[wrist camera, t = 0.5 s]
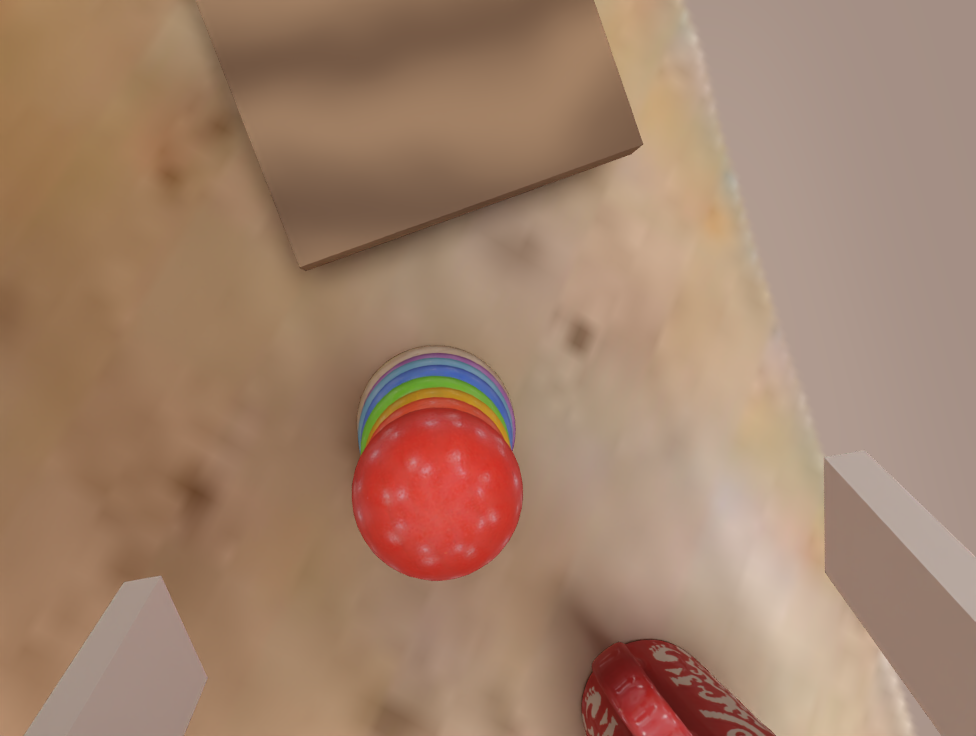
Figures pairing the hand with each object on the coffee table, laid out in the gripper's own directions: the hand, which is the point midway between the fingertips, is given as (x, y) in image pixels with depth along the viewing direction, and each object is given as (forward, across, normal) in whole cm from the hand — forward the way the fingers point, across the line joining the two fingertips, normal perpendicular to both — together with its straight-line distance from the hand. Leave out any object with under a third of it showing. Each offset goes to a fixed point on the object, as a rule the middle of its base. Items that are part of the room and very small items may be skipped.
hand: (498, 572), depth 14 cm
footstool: (+28, -2, +9) cm, 30 cm away
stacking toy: (+22, -4, -7) cm, 24 cm away
